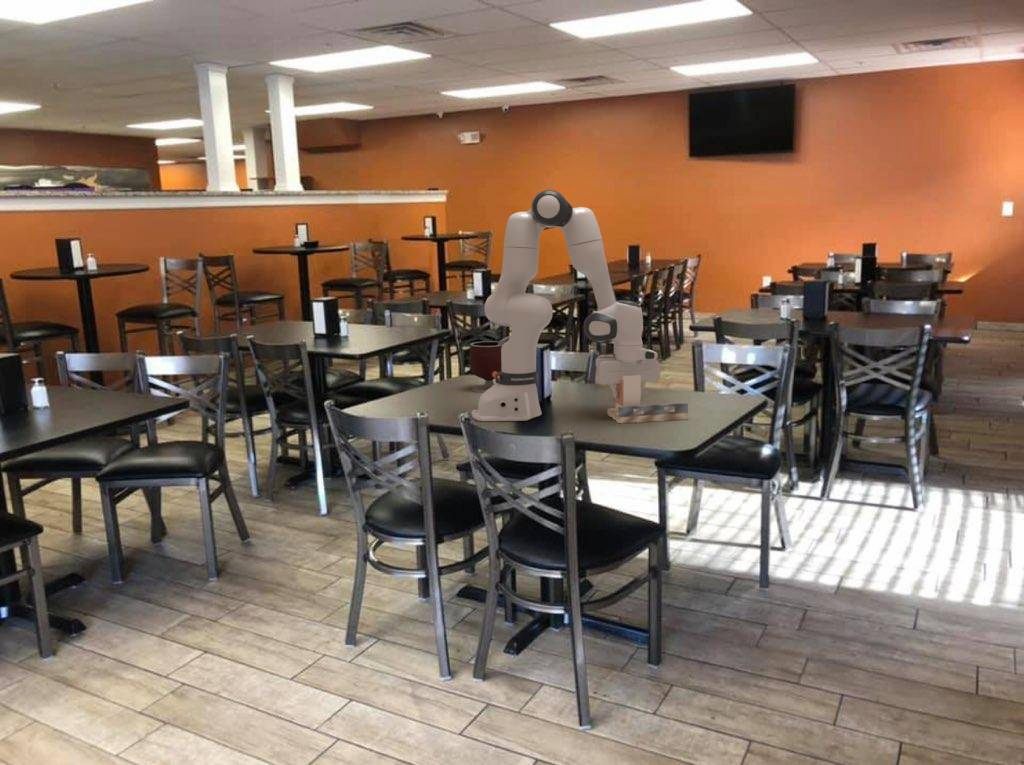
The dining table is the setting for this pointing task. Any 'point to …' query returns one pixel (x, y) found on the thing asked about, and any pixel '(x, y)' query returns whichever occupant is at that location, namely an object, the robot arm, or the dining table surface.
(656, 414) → the display board
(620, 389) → the product box
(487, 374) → the mate gourd
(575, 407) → the dining table surface
